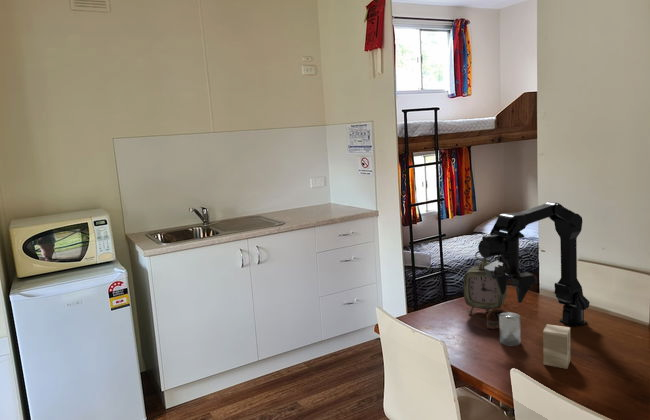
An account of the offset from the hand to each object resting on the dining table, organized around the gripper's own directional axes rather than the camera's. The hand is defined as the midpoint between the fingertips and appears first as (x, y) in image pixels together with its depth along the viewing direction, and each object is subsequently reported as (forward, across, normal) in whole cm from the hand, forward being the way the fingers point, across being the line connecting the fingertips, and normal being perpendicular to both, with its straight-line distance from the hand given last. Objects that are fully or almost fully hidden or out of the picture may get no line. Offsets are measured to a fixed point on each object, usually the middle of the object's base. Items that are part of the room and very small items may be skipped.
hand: (511, 298), depth 163 cm
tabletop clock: (+15, -23, +5) cm, 28 cm away
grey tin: (+14, +1, -2) cm, 14 cm away
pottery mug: (+15, -10, +2) cm, 18 cm away
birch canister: (+14, +19, +2) cm, 24 cm away
